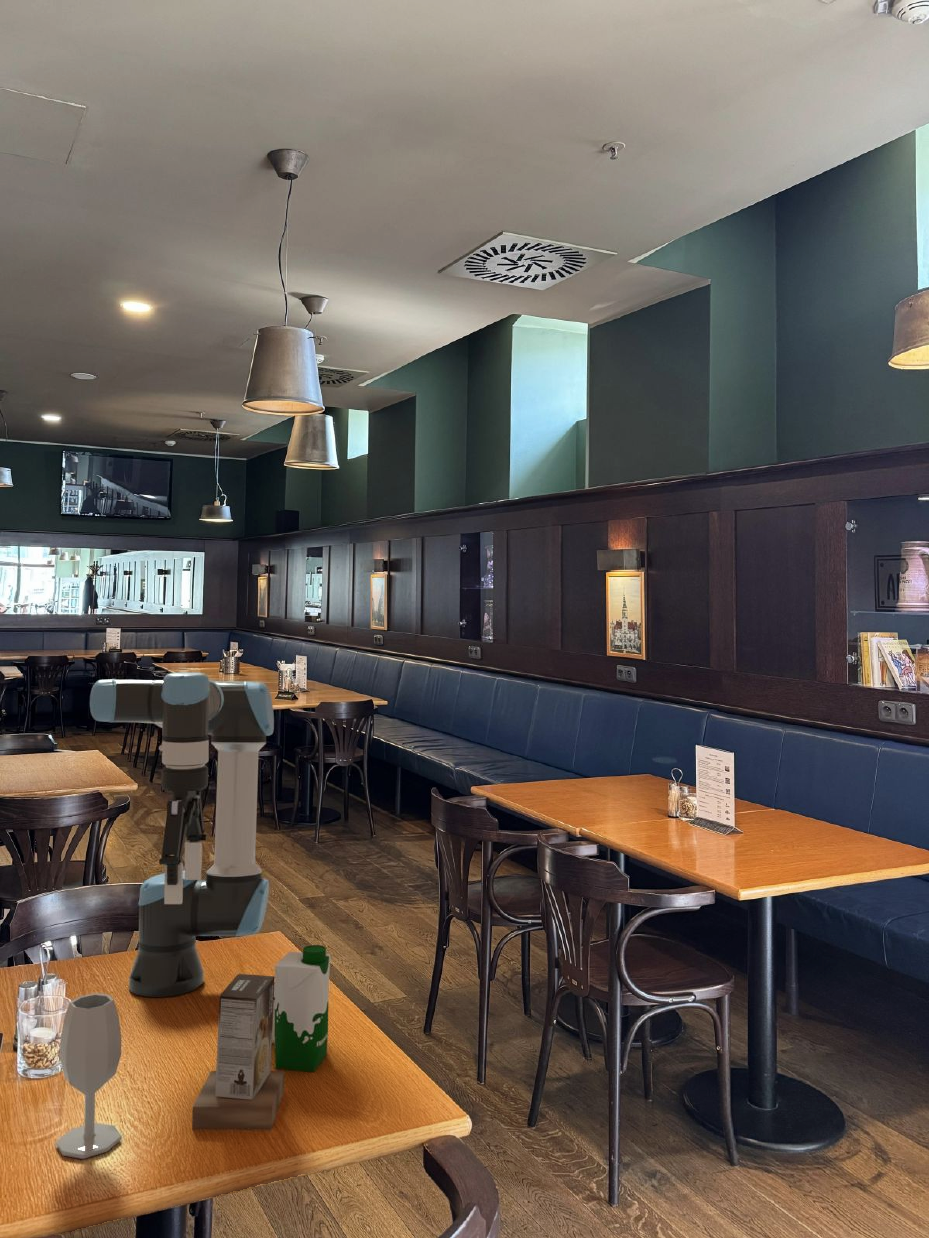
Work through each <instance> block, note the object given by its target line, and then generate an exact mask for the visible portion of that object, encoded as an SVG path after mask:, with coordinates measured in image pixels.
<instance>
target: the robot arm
mask: <svg viewBox="0 0 929 1238" xmlns="http://www.w3.org/2000/svg"><path fill="white" fill-rule="evenodd" d="M273 706H274V705H273V699H272V695H271V692H270V689H269V687H268V685H266V684H265V683H263V682H257V681H248V680H244V681H243V680H242V681H239V680H238V681H233V680H231V681H228V680H227V681H226V680H224V681H223V680H219V681H218V680H216V681H215V680H211V679H209V676H208V675H207V674H205V673H202V672H174V673H173V672H172V673H168V674H166V675H165V676H164V677H163V679H154V680H152V679H116V678H112V679H111V678H110V679H99V680H97V681H96V682H95V683H94V684H93V685H92V688H91V691H90V695H89V708H90V709H89V710H90V714H91V716H92V718H93V720H95V721H97V722H105V723H107V722H108V723H144V724H154V725H156V726H158V727H159V728H161V730H162V731H161V732H162V733H161V735H162V740H161V741H162V743H161V744H160V745H159V747H158V750H159V751H161V752H162V753H161V763H162V764H163V765H164V766H163V767H162V768H161V782H160V783H161V784H160V785H161V789H163V790H165V791H167V792H172V793H173V798H172V800H168V801H167V803H166V818H165V825H164V826H165V827H164V835H163V842H162V851H161V858H159V860H158V864H159V865H161V866H162V865H164V872H163V873H160V874H157V875H154V876H151V877H150V878H148V879H146V880H144V882H143V883H142V884H141V886H140V888H139V889H140V890H139V901H138V904H137V905H138V951H137V952H136V953H137V954H136V956H135V960H134V962H133V966H132V967H131V971H130V973H129V977H128V979H129V980H128V989H129V991H130V992H131V993H132V994H134V995H137V996H141V997H148V998H165V997H166V998H167V997H175V996H180V995H183V994H184V995H185V994H187V993H190V992H192V991H195V990H196V989H198V988H200V987H201V986H202V985H201V984H203V983H204V969H203V965H202V963H201V962H202V961H201V960H200V959H201V958H200V955H199V952H198V950H197V945H196V939H197V938H196V937H199V936H200V937H211V936H212V937H216V936H217V937H218V936H219V937H221V936H222V937H229V936H231V937H237V938H238V937H241V936H242V937H243V936H244V937H245V936H253V935H256V934H258V932H259V931H260V930H261V928H262V925H263V923H264V919H265V915H266V912H267V906H268V901H269V900H268V899H269V892H270V888H269V887H270V882H269V880H268V879H266V878H265V877H264V878H263V877H262V876H263V874H262V873H263V871H262V868H261V867H260V866H259V865H258V864H257V863H256V844H257V841H256V839H257V811H258V809H257V808H258V807H257V806H258V779H259V752H260V750H261V749H262V748H263V747H264V746H265V745H266V744H267V736H268V737H269V736H271V735H273V733H274V730H275V716H274V714H275V713H274V707H273ZM209 736H211V745H212V746H213V747H215V749H216V750H217V752H218V753H217V776H216V780H217V783H216V805H215V806H216V809H215V833H214V835H215V836H214V857H213V859H214V860H213V861H214V862H213V865H211V866H210V868H209V869H207V871H206V878H203V879H202V851H203V849H202V848H203V847H202V844H203V843H202V842H203V841H207V834H205V833H206V830H205V823H204V814H203V813H204V812H203V803H202V790H204V789H206V788H207V787H208V784H209V767H208V766H207V763H208V762H209V761H210V760H209V742H210V741H209ZM185 840H186V841H185ZM183 852H184V863H183V862H182V859H183ZM202 982H203V983H202ZM200 985H201V986H200ZM199 986H200V987H199ZM194 989H195V990H194Z"/></svg>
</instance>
